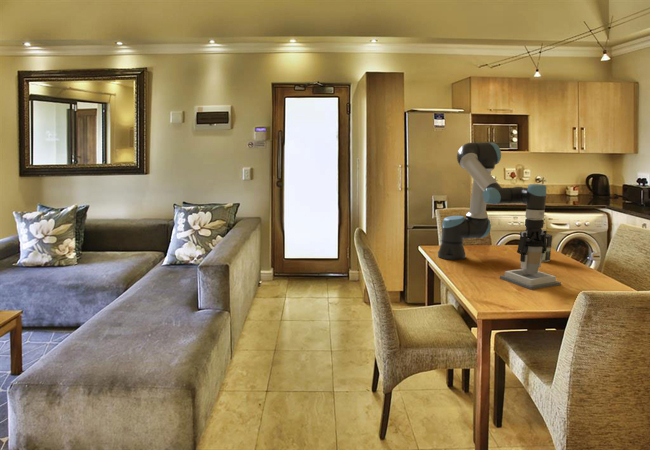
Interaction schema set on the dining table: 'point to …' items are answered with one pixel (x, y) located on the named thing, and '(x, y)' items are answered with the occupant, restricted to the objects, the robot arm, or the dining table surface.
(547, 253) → the coffee can
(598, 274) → the dining table surface
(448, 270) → the dining table surface
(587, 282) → the dining table surface
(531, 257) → the coffee cup
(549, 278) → the cup dock
